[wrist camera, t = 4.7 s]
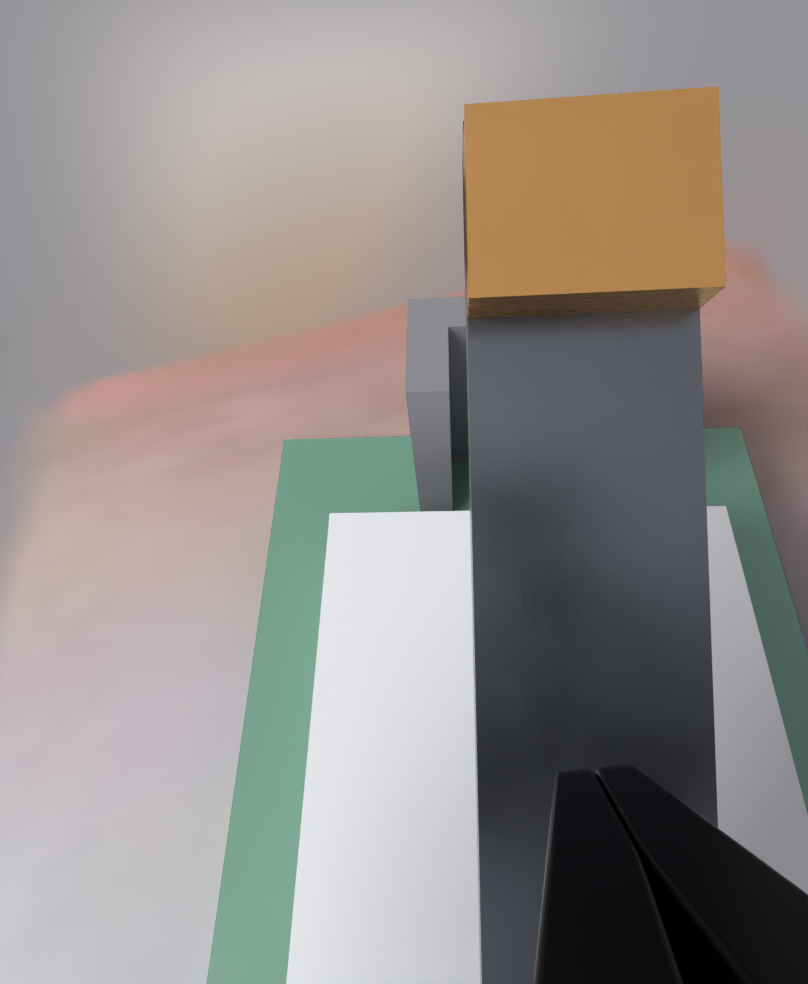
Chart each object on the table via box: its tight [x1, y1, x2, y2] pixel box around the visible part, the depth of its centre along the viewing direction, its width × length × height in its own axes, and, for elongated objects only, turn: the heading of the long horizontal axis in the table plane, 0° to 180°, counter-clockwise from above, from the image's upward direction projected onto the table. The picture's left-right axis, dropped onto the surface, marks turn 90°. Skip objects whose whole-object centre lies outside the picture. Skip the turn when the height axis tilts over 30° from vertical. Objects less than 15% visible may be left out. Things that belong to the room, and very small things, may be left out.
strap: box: [462, 87, 726, 984], centre depth 8 cm, size 17×3×2 cm, turn 178°
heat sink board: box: [207, 297, 808, 984], centre depth 14 cm, size 21×15×8 cm
